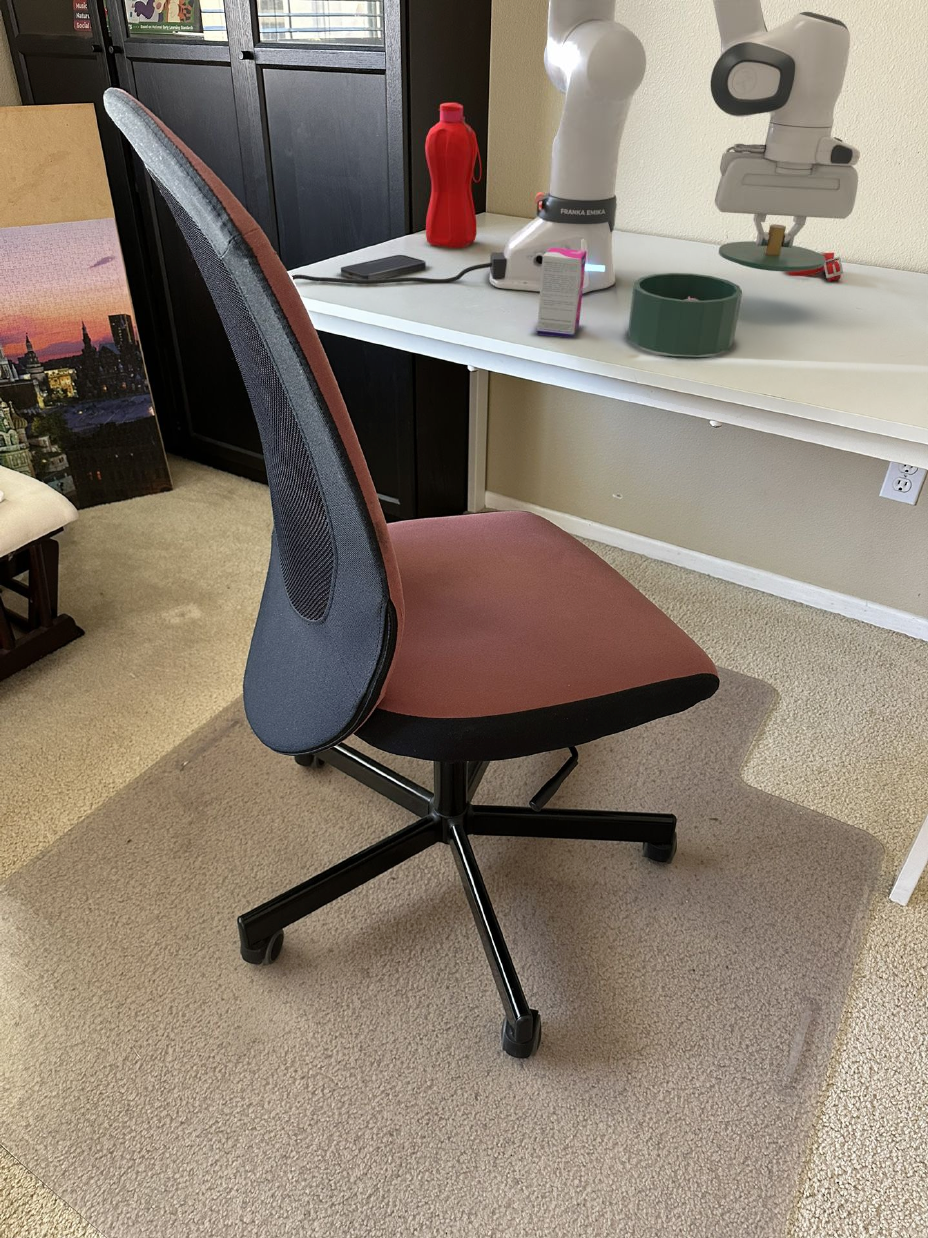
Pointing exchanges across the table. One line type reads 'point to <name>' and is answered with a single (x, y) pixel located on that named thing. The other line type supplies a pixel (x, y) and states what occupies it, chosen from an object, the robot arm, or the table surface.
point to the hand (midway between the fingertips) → (773, 245)
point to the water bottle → (451, 179)
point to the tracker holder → (824, 268)
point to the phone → (383, 267)
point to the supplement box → (561, 292)
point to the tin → (684, 314)
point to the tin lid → (772, 254)
